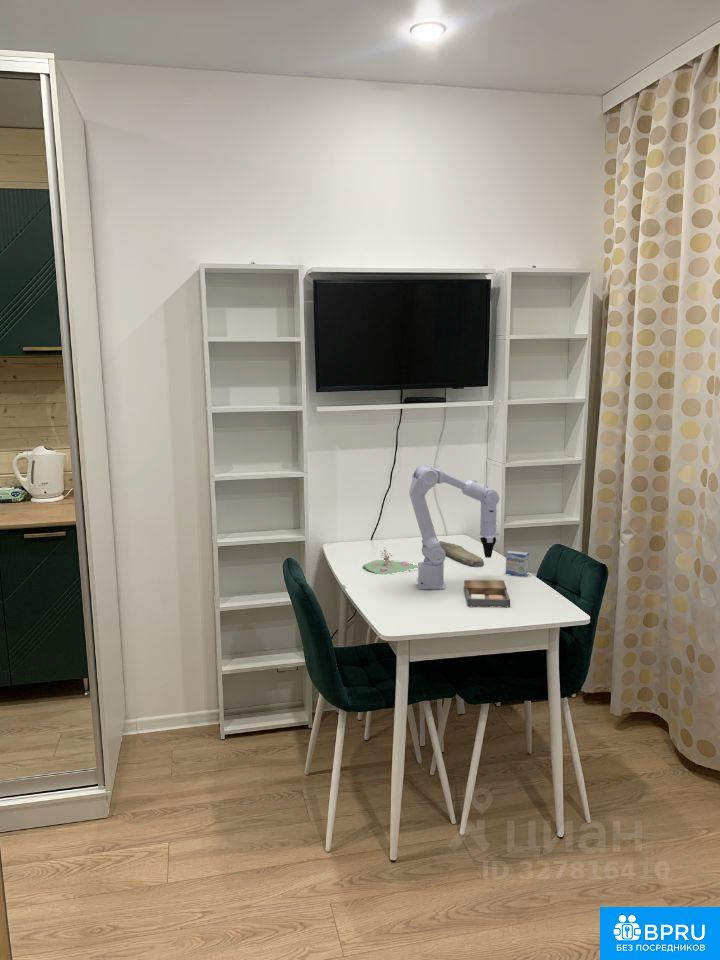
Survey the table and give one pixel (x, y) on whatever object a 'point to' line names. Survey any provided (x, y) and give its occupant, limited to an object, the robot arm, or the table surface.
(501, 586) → the walnut board
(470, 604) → the bin
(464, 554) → the elongated rock
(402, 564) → the plant
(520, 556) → the medicine box
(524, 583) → the table surface
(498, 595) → the terracotta tile
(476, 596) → the cream tile
